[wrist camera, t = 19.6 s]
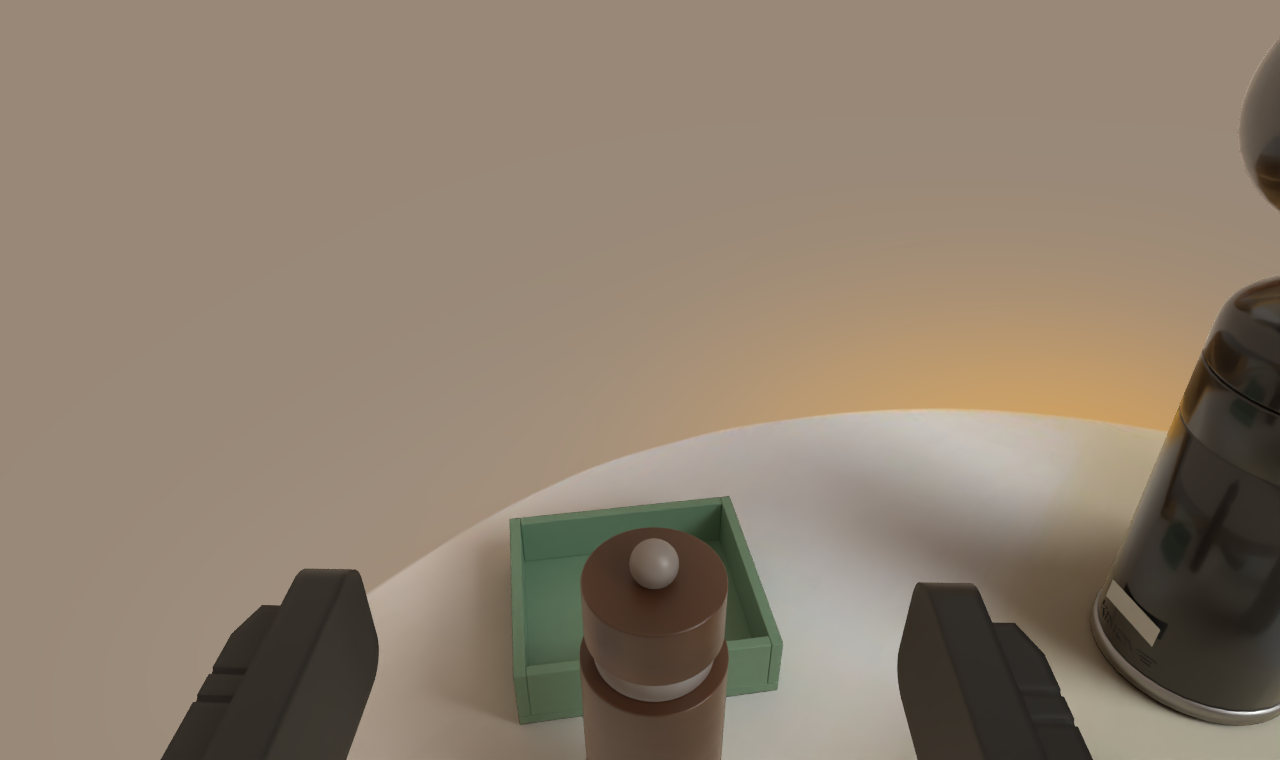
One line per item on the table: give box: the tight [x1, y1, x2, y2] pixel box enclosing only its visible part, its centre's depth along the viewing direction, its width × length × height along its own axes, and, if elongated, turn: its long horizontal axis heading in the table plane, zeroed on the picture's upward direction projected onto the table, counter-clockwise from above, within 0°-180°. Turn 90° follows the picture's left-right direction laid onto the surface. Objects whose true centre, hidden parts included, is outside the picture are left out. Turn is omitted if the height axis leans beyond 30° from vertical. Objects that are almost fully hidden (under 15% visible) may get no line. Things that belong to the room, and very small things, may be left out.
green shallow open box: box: [510, 496, 783, 724], centre depth 45 cm, size 13×11×4 cm
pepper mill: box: [579, 527, 729, 760], centre depth 31 cm, size 5×5×18 cm
